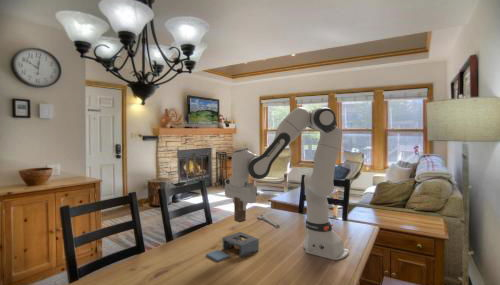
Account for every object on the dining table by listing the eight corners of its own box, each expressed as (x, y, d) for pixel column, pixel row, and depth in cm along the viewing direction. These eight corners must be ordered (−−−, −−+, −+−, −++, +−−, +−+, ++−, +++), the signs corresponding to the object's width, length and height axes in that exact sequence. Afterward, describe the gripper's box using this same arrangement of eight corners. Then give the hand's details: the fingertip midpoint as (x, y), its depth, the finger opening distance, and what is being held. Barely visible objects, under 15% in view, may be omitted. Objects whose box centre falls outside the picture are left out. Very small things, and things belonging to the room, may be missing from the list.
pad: (229, 257, 136) (229, 255, 136) (217, 262, 131) (217, 259, 131) (217, 251, 142) (217, 249, 142) (206, 255, 137) (206, 253, 137)
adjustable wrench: (280, 228, 178) (280, 225, 178) (271, 229, 175) (271, 226, 175) (264, 216, 201) (264, 214, 201) (255, 217, 198) (255, 215, 198)
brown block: (245, 220, 143) (245, 197, 143) (239, 222, 140) (239, 198, 140) (240, 219, 146) (240, 195, 146) (234, 220, 143) (234, 197, 143)
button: (247, 246, 144) (247, 242, 144) (240, 249, 141) (240, 244, 140) (240, 244, 147) (240, 239, 147) (233, 246, 144) (233, 242, 144)
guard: (258, 250, 143) (258, 238, 143) (241, 258, 135) (241, 245, 135) (240, 242, 153) (239, 231, 153) (222, 249, 145) (222, 237, 145)
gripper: (259, 183, 137) (259, 211, 138) (231, 178, 152) (231, 203, 153) (250, 185, 133) (249, 214, 133) (222, 179, 148) (222, 206, 148)
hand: (240, 208), depth 143 cm, fingers closed on brown block, 4 cm apart
